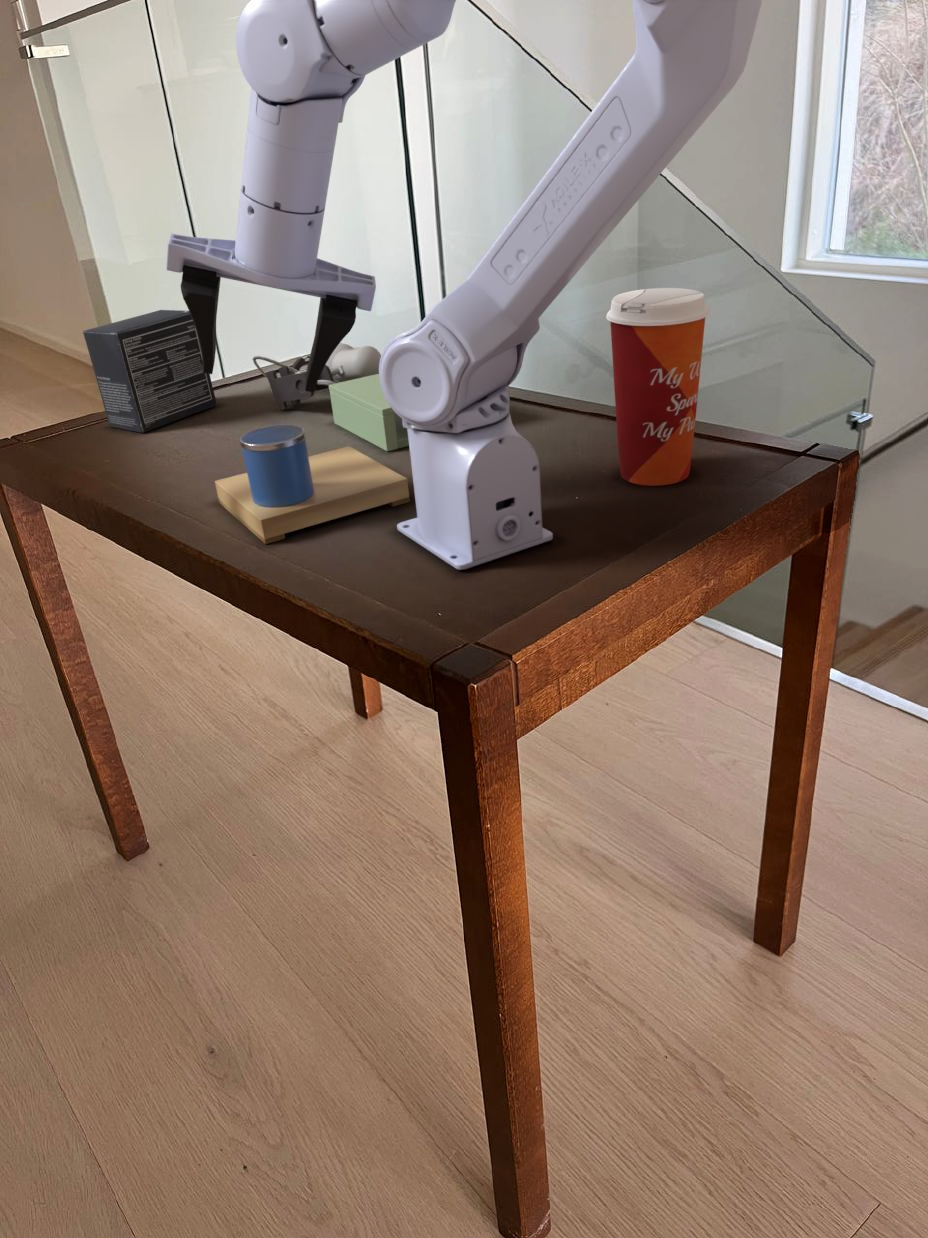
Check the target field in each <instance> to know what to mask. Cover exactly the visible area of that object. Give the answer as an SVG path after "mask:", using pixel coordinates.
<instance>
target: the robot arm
mask: <svg viewBox="0 0 928 1238" xmlns="http://www.w3.org/2000/svg"><path fill="white" fill-rule="evenodd" d="M631 1H632V11H633V21H634V22H633V23H634V30H635V31H634V32H635V43H636V44H635V45H636V47H635V52H634V53H633V56H631V58H630V59H629V61H628V62H627V63H626V64H625V66H624V67H623V69H622V70H621V72H620V73H619V74H618V76H617V77H616V78H615V80H614V81H613V82H612V84H611V85H610V86H609V87H608V89H607V90H606V92H605V93H604V94H603V96H602V97H600V98H601V99H600V100H599V101H598V102H597V103H596V105H595V106H594V108H593V109H592V110H591V112H590V113H589V114H588V116H587V117H586V119H585V120H584V121H583V123H582V124H581V125H580V127H579V128H578V129H577V131H576V132H575V133H574V134H573V136H572V138H571V139H570V140H569V141H568V143H567V144H566V146H564V148H563V149H562V151H561V152H560V153H559V155H558V156H557V158H556V159H555V160H554V162H553V163H552V164H551V166H550V167H549V168H548V170H547V171H546V172H545V173H544V175H543V176H542V178H541V179H540V180H539V181H538V183H537V184H536V185H535V187H534V188H533V190H532V191H531V193H530V194H529V195H528V196H527V198H526V199H525V200H524V201H523V203H522V204H521V206H520V207H519V208H518V210H517V211H516V212H515V214H514V215H513V216H512V218H511V219H510V220H509V222H508V223H507V224H506V226H505V228H504V229H503V230H502V231H501V233H500V234H499V236H498V237H497V238H496V240H495V241H494V242H493V244H492V245H491V247H490V248H489V249H488V250H487V251H486V253H485V254H484V256H483V257H482V259H481V260H480V261H479V262H478V264H477V265H476V266H475V267H474V269H473V270H472V272H471V273H470V274H469V276H468V277H467V278H466V279H465V280H464V281H463V282H461V283H460V284H459V285H458V286H457V287H455V289H452V291H451V292H450V293H448V294H447V295H446V296H444V298H442V299H441V300H440V301H439V302H438V303H436V304H435V305H434V306H433V307H432V308H431V309H430V310H429V311H428V313H427V314H426V315H425V317H424V318H423V319H422V321H421V322H419V324H417V325H416V326H415V327H413V328H411V329H407V330H405V331H403V332H400V333H397V334H396V335H394V336H393V337H392V338H391V339H390V340H389V341H388V342H387V344H386V345H385V346H384V348H383V351H382V353H381V359H380V363H379V379H380V385H381V388H382V391H383V394H384V396H385V398H386V400H387V402H388V403H389V405H390V407H391V408H392V409H393V410H394V412H395V413H396V414H397V415H398V416H399V417H401V418H402V421H403V427H404V428H407V431H408V440H409V446H408V447H409V448H408V449H409V456H410V465H411V474H412V483H413V492H414V500H415V509H416V517H413V518H411V519H408V520H404V521H401V522H399V523H397V524H396V530H397V531H398V532H400V533H402V534H403V535H404V536H405V537H407V538H409V539H411V540H412V541H413V542H415V543H416V544H418V545H420V546H421V547H422V548H424V549H426V550H427V551H428V552H430V553H431V554H433V555H434V556H436V557H438V558H439V559H440V560H442V561H444V562H445V563H446V564H448V565H450V566H451V567H453V568H454V569H456V570H458V571H465V570H468V569H471V568H474V567H477V566H479V565H483V564H486V563H488V562H491V561H494V560H497V559H500V558H503V557H506V556H509V555H512V554H515V553H518V552H521V551H523V550H527V549H529V548H532V547H535V546H539V545H542V544H545V543H548V542H550V541H552V540H553V539H554V533H553V532H552V531H550V530H548V529H547V528H544V527H543V511H542V510H543V509H542V490H541V489H542V488H541V468H540V460H539V456H538V454H537V452H536V449H535V448H534V447H533V445H532V444H531V443H530V442H529V441H528V440H527V439H526V438H524V437H523V436H522V435H521V434H520V433H519V432H518V431H517V430H516V427H515V426H514V424H513V420H512V417H511V412H510V401H511V399H510V385H511V384H512V383H513V382H515V380H516V379H517V377H518V375H519V374H520V371H521V369H522V365H523V362H524V357H525V353H526V349H527V347H528V345H529V343H530V342H531V341H532V339H533V338H534V337H535V336H536V334H538V332H539V331H540V329H541V327H540V326H541V325H540V320H539V319H540V317H541V316H542V315H543V314H544V313H545V312H546V310H547V309H548V308H549V306H550V305H552V303H553V302H554V301H555V300H556V298H557V297H558V296H559V295H560V294H561V293H562V291H563V290H564V289H565V288H566V286H567V285H569V283H570V282H571V281H572V279H573V278H574V277H575V276H576V275H577V274H578V272H579V271H580V270H581V269H582V268H583V266H584V265H585V264H586V263H587V262H588V260H589V259H590V258H591V256H593V254H594V253H595V252H596V251H597V250H598V249H599V247H600V246H601V245H602V244H603V243H604V241H605V240H607V238H608V236H609V235H610V234H611V233H612V232H613V231H614V230H615V229H616V227H617V226H618V225H619V223H620V222H621V221H622V220H623V219H624V218H625V216H626V215H627V214H628V213H629V212H630V210H631V209H632V208H633V207H634V206H635V204H636V203H638V201H639V200H640V199H641V197H643V196H644V194H645V193H646V192H647V191H648V189H649V188H650V187H651V185H653V184H654V182H655V181H656V180H657V179H658V178H659V176H660V175H661V174H662V173H663V172H664V170H665V169H666V168H667V167H668V166H669V164H670V163H671V162H672V161H673V159H674V158H675V157H676V156H677V155H678V154H679V152H680V151H681V150H682V149H683V147H684V146H685V145H687V143H688V142H689V140H690V139H692V137H693V136H694V135H695V133H696V132H697V131H698V130H699V129H700V127H702V125H703V124H704V123H705V122H706V120H708V118H709V117H710V116H711V115H712V113H713V112H714V111H715V110H716V109H717V107H718V106H719V105H720V104H721V103H722V102H723V100H724V99H725V98H726V97H727V96H728V94H730V92H731V91H732V90H733V89H734V88H735V86H736V84H737V83H738V81H739V79H740V78H741V76H742V74H743V73H744V71H745V68H746V65H747V61H748V58H749V53H750V49H751V46H752V42H753V39H754V34H755V30H756V26H757V22H758V19H759V15H760V10H761V6H762V2H763V0H631ZM456 2H457V0H250V1H249V2H248V3H247V4H246V6H245V7H244V8H243V10H242V12H241V14H240V16H239V19H238V22H237V27H236V32H235V33H236V34H235V44H236V45H235V49H236V56H237V60H238V64H239V67H240V69H241V72H242V75H243V77H244V78H245V80H246V82H247V83H248V85H249V86H250V87H251V89H250V96H249V105H248V116H247V125H246V134H245V144H244V155H243V164H242V175H241V182H240V183H241V184H240V195H239V204H238V212H237V213H238V214H237V223H236V232H235V240H234V239H233V240H232V239H222V238H208V237H197V236H188V235H184V234H183V235H182V234H177V233H170V235H169V238H168V242H167V251H166V267H165V270H166V271H170V272H174V273H180V274H181V273H182V276H181V282H180V292H181V295H182V298H183V301H184V303H185V306H186V308H187V309H188V311H189V312H190V314H191V317H192V319H193V322H194V325H195V328H196V331H197V335H198V339H199V343H200V348H201V353H202V361H203V372H204V373H208V374H210V375H213V372H214V366H215V361H216V351H217V315H218V305H219V296H220V288H221V278H223V279H228V280H233V281H237V282H242V283H248V284H252V285H257V286H262V287H266V288H271V289H277V290H281V291H286V292H292V293H297V294H302V295H306V296H312V297H315V298H319V305H318V312H317V319H316V326H315V332H314V338H313V342H312V346H311V350H310V354H309V357H308V363H307V366H306V369H307V372H306V381H305V391H309V392H314V391H315V387H316V384H317V381H318V379H319V377H320V374H321V372H322V370H323V368H324V366H325V365H326V363H327V361H328V359H329V358H330V356H331V354H332V353H333V351H334V350H335V349H336V347H337V346H338V345H339V343H342V341H343V340H344V339H345V338H346V336H347V335H348V334H349V333H350V332H351V331H352V329H353V327H354V325H355V323H356V319H357V309H358V310H362V311H367V312H372V308H373V305H374V298H375V294H376V289H377V283H376V276H375V275H371V274H367V273H362V272H360V271H359V272H358V271H355V270H352V269H349V268H346V267H344V266H341V265H338V264H335V263H333V262H329V261H326V260H325V259H321V258H318V256H319V249H320V242H321V236H322V229H323V224H324V223H323V222H324V217H325V210H326V205H327V198H328V191H329V185H330V179H331V173H332V168H333V167H332V166H333V161H334V160H333V159H334V155H335V154H334V153H335V148H336V143H337V135H338V130H339V124H341V123H343V121H344V116H345V115H344V113H345V108H346V105H347V103H348V101H349V99H350V98H351V97H352V96H353V95H354V94H355V93H356V92H357V91H358V90H359V88H360V87H361V86H362V84H363V82H364V80H365V78H366V76H367V75H368V74H370V73H372V72H374V71H376V70H378V69H380V68H382V67H383V66H385V65H387V64H389V63H391V62H393V61H395V60H397V59H399V58H401V57H403V56H405V55H406V54H409V53H411V52H412V51H414V50H416V49H418V48H420V47H422V46H423V45H426V44H428V43H429V42H431V41H434V40H435V39H437V38H440V36H442V35H443V34H444V33H445V32H446V31H447V29H448V27H449V25H450V22H451V19H452V15H453V11H454V8H455V4H456Z"/></svg>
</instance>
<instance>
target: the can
mask: <svg viewBox="0 0 928 1238" xmlns="http://www.w3.org/2000/svg"><path fill="white" fill-rule="evenodd" d="M239 443H240V446H241V449H242V453H243V459H244V464H245V469H246V470H245V471H246V473H247V475H248V479H249V484H250V489H251V494H252V499H253V502H254V503H255V504H257V505H259V506H263V507H284V506H289V505H294V504H297V503H300V502H303V501H305V500H307V499H308V498H310V497H311V496H312V495H313V493H314V488H313V482H312V476H311V470H310V464H309V458H308V457H309V451H308V446H307V440H306V431H305V428H303V427H302V426H300V425H296V424H288V423H287V424H285V423H284V424H272V425H266V426H261V427H257V428H254V429H251V430H249V431H247V432H244V433H243V434H242V435H241V436H240V438H239Z"/></svg>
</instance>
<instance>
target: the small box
mask: <svg viewBox="0 0 928 1238" xmlns="http://www.w3.org/2000/svg"><path fill="white" fill-rule="evenodd" d="M82 334H83V337H84V341H85V344H86V348H87V351H88V355H89V358H90V362H91V365H92V369H93V372H94V376H95V379H96V383H97V386H98V391H99V393H100V398H101V401H102V405H103V408H104V412H105V415H106V418H107V423H108V426H109V428H114V429H119V430H123V431H124V430H125V431H131V432H136V433H142V434H144V433H147V432H149V431H152V430H155V429H157V428H161V427H163V426H165V425H168V424H171V423H173V422H176V421H179V420H181V419H185V418H186V417H187V418H188V417H190V416H193V415H195V414H197V413H200V412H203V411H205V410H208V409H211V408H214V407H216V406H218V401H217V399H216V394H215V391H214V387H213V383H212V379H211V374H208V373H204V372H203V361H202V353H201V348H200V343H199V339H198V335H197V331H196V328H195V325H194V322H193V319H192V317H191V314H190V312H189V310H181V309H180V310H178V309H176V310H175V309H159V310H155V311H151V312H148V313H144V314H140V315H137V316H133V317H129V318H126V319H122V320H119V321H115V322H111V323H108V324H107V323H106V324H103V325H100V326H96V327H92V328H89V329H86V330H83V331H82Z"/></svg>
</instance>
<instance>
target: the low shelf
mask: <svg viewBox="0 0 928 1238" xmlns="http://www.w3.org/2000/svg"><path fill="white" fill-rule="evenodd" d="M308 458H309V464H310V470H311V476H312V482H313V488H314V493H313V495H312V496H311V497H310V498H308V499H307V500H305V501H303V502H300V503H297V504H294V505H289V506H284V507H263V506H259V505H257V504H255V503H254V502H253V499H252V494H251V489H250V484H249V479H248V475H247V472H244V473H241V474H236V475H233V476H229V477H225V478H221V479H217V480H214V485H215V489H216V494H217V499H218V503H219V504H220V505H221V506H222V507H223V508H224V509H225V510H227V512H228V513H230V514H231V515H232V516H233V517H235V518H236V520H238V521H239V522H240V523H241V524H242V525H243V526H245V528H247V530H249V531H250V532H251V533H252V534H253V535H254V536H255V537H257V538H258V539H259V540H260V541H261V542H263V543H264V544H265V545H268V544H272V543H274V542H278V541H281V540H282V541H283V540H285V539H286V535H285V534H288V533H291V532H294V531H298V530H301V529H305V528H308V527H309V528H310V527H311V526H315V525H318V524H322V523H325V522H329V521H331V520H332V521H333V520H336V519H339V518H343V517H346V516H349V515H353V514H356V513H357V514H358V513H360V512H363V511H367V510H370V509H373V508H377V507H381V506H384V505H389V506H390V507H397V506H400V505H404V504H407V503H410V502H411V498H410V490H409V481H408V478H407V477H405V476H403V475H401V474H400V473H398V472H397V471H394V470H392V469H391V468H390V467H387V466H386V465H384V464H382V463H380V462H378V461H377V460H375V459H373V458H372V457H370V456H367V455H366V454H364V453H362V452H361V451H358V450H357V449H356V448H353V447H351V446H349V445H348V446H345V447H340V448H336V449H332V450H329V451H325V452H321V453H318V454H314V455H310V456H309V455H308Z"/></svg>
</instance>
